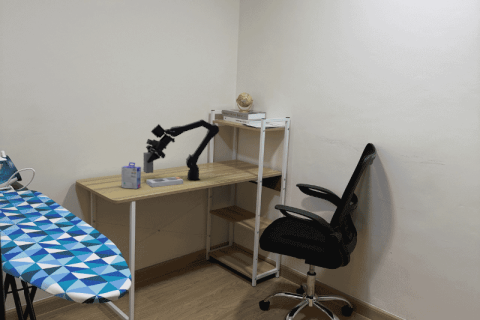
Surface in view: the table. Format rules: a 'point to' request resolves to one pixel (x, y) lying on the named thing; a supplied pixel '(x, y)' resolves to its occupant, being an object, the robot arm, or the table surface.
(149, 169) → the block
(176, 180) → the power strip
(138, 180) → the ink cartridge box
